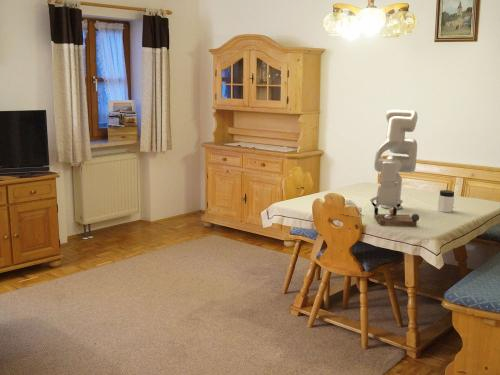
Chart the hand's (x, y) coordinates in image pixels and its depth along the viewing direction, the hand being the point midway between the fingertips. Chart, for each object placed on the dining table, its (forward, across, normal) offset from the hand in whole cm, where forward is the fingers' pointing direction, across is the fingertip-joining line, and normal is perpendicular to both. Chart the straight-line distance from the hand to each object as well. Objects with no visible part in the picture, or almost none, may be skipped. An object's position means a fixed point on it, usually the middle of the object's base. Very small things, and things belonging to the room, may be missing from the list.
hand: (385, 215), depth 305 cm
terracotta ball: (-1, -6, -6) cm, 9 cm away
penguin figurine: (+4, +15, -17) cm, 23 cm away
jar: (+4, -44, -32) cm, 55 cm away
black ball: (-1, -14, +6) cm, 16 cm away
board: (+4, -6, 0) cm, 7 cm away
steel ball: (+2, -2, 0) cm, 2 cm away
